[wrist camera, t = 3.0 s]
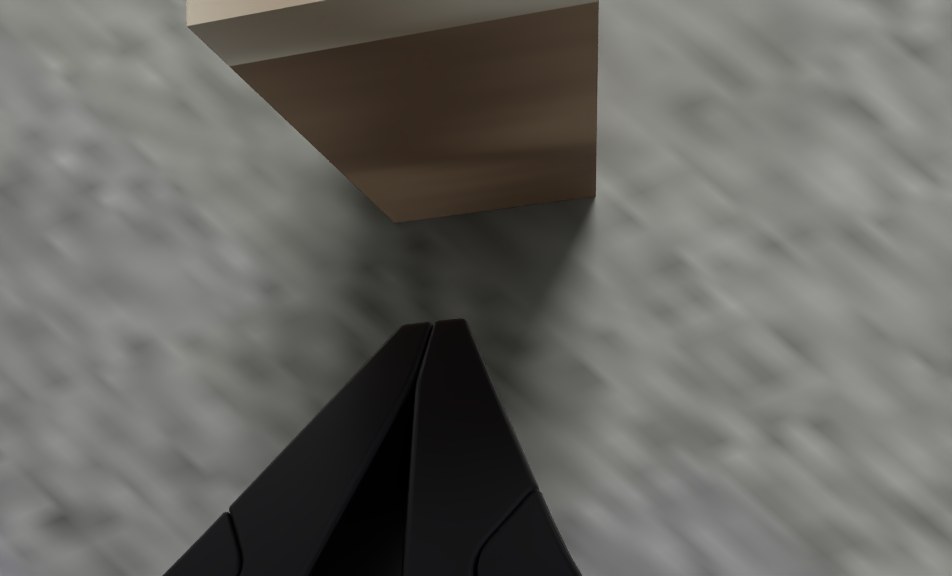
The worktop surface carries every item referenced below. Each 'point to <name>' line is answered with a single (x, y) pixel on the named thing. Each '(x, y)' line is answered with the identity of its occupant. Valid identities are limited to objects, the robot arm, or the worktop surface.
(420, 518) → the robot arm
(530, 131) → the walnut block
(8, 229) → the worktop surface
